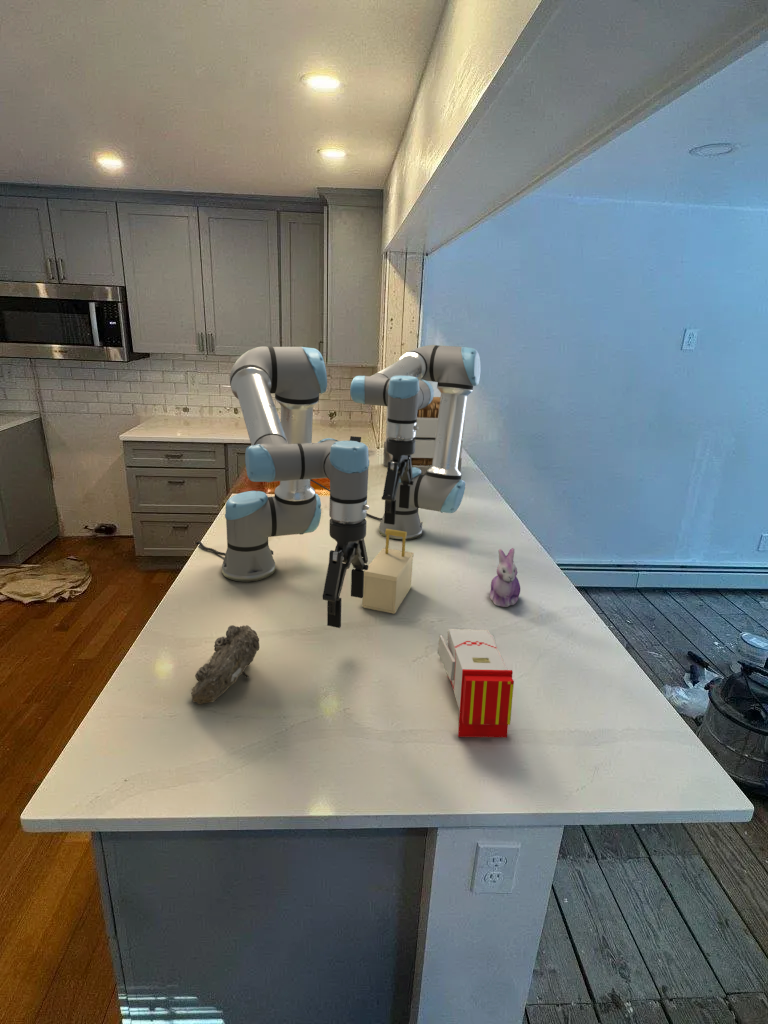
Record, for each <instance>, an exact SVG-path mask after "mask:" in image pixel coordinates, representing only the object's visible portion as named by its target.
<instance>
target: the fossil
mask: <svg viewBox="0 0 768 1024" xmlns="http://www.w3.org/2000/svg"><path fill="white" fill-rule="evenodd" d="M213 647H214V649H213V650H214V652H213V654H212V656H211V658H210V659H209V661H208V663H205V664H203V665H202V666H201V667H200V668H198V670H197V671H196V673H195V676H194V677H195V679H196V681H197V682H196V683H195V685H194V686H193V687H192V688H191V700H192V702H193V703H197V704H198V705H203V704H207V703H214V702H215V701H216V700H218V698H219V697H221V696H222V695H223V694H224V693H226V692H227V690H228V689H229V688H231V686H233V684H235V683H236V682H237V680H238V678H239V677H240V676H241V675H243V676H244V677H245V678H249V675H248V674H247V673H246V672H245V669H246V668H247V667H248V666H250V665H251V663H253V662H254V658H255V656H256V654H257V652H259V650H260V637H259V636H258V633H257V632H256V630H254V629H252V628H251V626H249V625H247V624H246V625H240V626H236V625H234V624H233V625H229V626H228V627H227V630H226V631H225V636H220V637H219V636H218V637H217V638H216V639H215V641H214V645H213Z"/></svg>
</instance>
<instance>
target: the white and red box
mask: <svg viewBox="0 0 768 1024" xmlns="http://www.w3.org/2000/svg"><path fill="white" fill-rule="evenodd" d="M446 640H447V643H446V641H445V639H444V636H443V635H442V634H439V637H438V646H437V656H438V657H439V659H440V661H441V663H442V666H443V668H444V670H445V672H446V674H447V677H448V679H449V681H450V684H451V687H452V690H453V693H454V697H455V701H456V705H457V708H458V711H459V714H458V715H459V716H458V730H457V731H458V732H457V737H458V738H508V731H509V726H510V725H511V717H512V707H513V697H514V696H513V695H514V684H515V680H514V679H513V673H514V671H513V670H512V669H508V667H507V665H506V662H505V661H504V659H503V658H502V655H501V653H500V651H499V649H498V647H497V643H496V639H495V637H494V635H493V634H491V632H490V631H489V629H467V628H466V629H465V628H463V629H461V628H460V629H459V628H448V630H447V639H446Z"/></svg>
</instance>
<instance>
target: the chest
mask: <svg viewBox="0 0 768 1024" xmlns="http://www.w3.org/2000/svg"><path fill="white" fill-rule="evenodd" d="M413 559H414V557H413V558H412V560H411V561H410V562H409V564H408V565H407V567H406V568H405V570H404V571H403V573H402V574H401V576H400V577H399V579H398V580H397V581H391V580H386V579H380V578H375V577H369V576H364V588H363V598H362V606H361V607H362V608H364V609H368V610H372V611H373V610H374V611H378V612H382V613H388V614H392V615H395V614H396V613H397V611H398V609H400V608H399V607H400V606H401V605H402V603H403V602H404V599H405V598H406V596H407V594H408V593H409V591H410V590H411V588H412V575H413V574H412V573H413Z"/></svg>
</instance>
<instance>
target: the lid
mask: <svg viewBox="0 0 768 1024" xmlns="http://www.w3.org/2000/svg"><path fill="white" fill-rule="evenodd" d="M385 534H386V537H385V547H383V548H381V550H380V551H379V552H378V553H377V555H375V557H374V558H373V560H371V561H370V563H369V564H367V565H368V570H363V571H364V576H369V577H375V578H380V579H386V580H391V581H397V580H398V579H399V577H400V576H401V574H402V573H403V571H404V570H405V568H406V567H407V565H408V564H409V562H410V561H411V560H412V558H413V559H414V555H415V553H414V552H411V551H406V541H407V540H406V536H407V532H404V531H398V530H392V529H386V531H385ZM389 535H393V536H399V537H403V540H401V541H402V543H401V550H399V549H395V548H389V547H390V546H389V545H390V538H389Z"/></svg>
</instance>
